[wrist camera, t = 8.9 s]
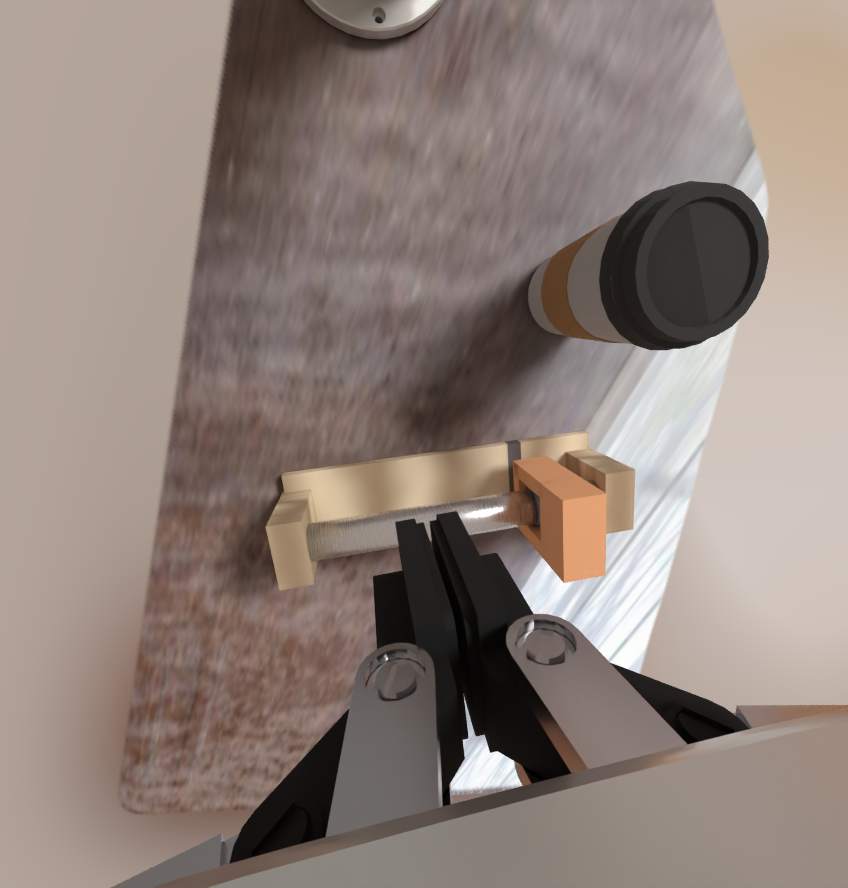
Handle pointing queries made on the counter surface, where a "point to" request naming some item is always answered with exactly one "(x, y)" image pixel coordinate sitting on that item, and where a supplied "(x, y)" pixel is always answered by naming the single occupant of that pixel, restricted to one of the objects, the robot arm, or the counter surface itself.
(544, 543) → the collar
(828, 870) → the robot arm
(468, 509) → the pipe
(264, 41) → the counter surface
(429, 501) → the beige long frame
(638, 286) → the coffee cup
